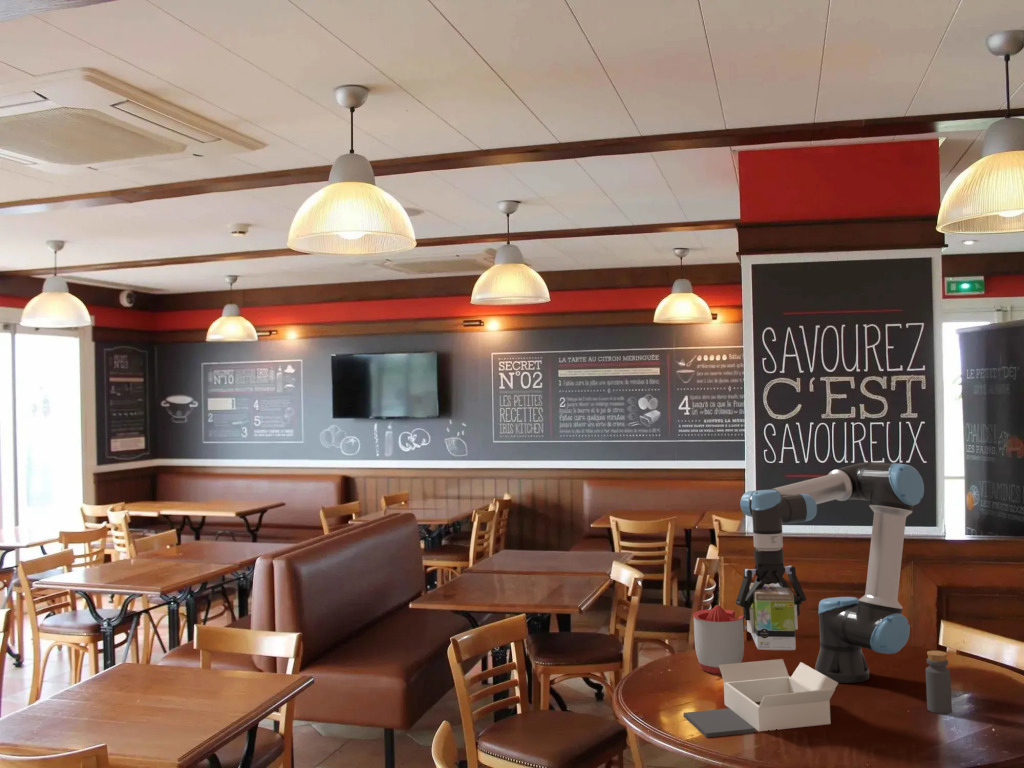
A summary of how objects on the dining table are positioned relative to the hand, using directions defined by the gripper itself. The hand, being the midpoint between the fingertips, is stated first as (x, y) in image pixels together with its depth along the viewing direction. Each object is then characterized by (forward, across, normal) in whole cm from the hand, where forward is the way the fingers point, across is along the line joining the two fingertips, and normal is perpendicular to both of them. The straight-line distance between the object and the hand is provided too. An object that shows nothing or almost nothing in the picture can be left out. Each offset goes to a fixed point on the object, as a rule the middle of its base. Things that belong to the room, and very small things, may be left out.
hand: (772, 630), depth 226 cm
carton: (+22, +1, 0) cm, 22 cm away
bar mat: (+22, -18, -3) cm, 28 cm away
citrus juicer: (+22, +3, +40) cm, 46 cm away
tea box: (+4, 0, 0) cm, 4 cm away
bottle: (+22, +42, -9) cm, 48 cm away
